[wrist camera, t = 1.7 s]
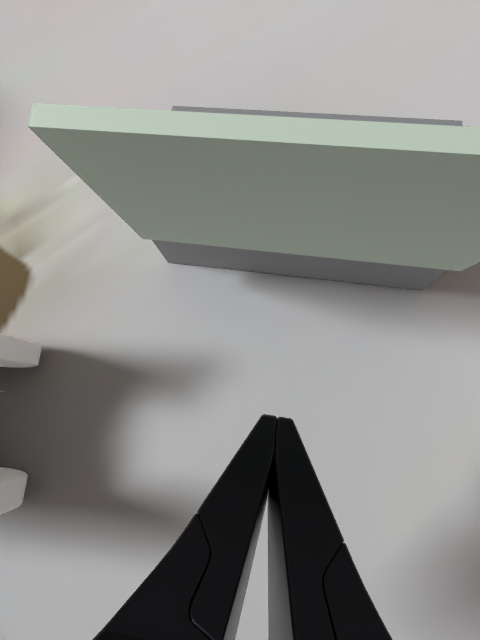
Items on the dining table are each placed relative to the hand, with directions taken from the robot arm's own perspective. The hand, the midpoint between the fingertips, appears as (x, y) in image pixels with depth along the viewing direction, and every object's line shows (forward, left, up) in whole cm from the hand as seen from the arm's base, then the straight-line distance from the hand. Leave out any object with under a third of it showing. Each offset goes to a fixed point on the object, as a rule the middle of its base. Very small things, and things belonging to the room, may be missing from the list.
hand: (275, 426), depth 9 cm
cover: (+7, -5, -3) cm, 9 cm away
